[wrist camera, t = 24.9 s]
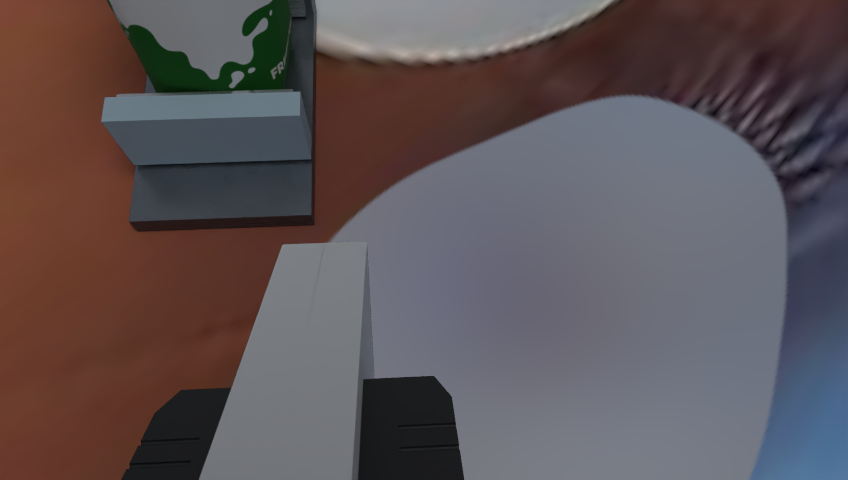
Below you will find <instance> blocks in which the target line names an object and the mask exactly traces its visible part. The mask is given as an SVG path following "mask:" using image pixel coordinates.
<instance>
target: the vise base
mask: <svg viewBox="0 0 848 480" xmlns="http://www.w3.org/2000/svg"><path fill="white" fill-rule="evenodd" d="M288 2H289V7H290V12H291V36H292V41H291V48H290V55H289V62H288V69H287V76H286V83H285V89H293V92H301V96H302V100H303V104H304V108H305V112H306V117H307V121H308V125H309V129H310V133H311V137H312V142H311V159H305V160H275V161H245V162H215V163H185V164H155V165H136V168H135V176H134V184H133V192H132V201H131V209H130V217H129V222H130V223H131V224H132V226H133V227H134V228H135V229H136V230H137V231H162V230H189V229H216V228H243V227H270V226H297V225H314V198H315V109H316V21H317V11H316V5H315V0H288ZM145 93H156V91H155V89H154V87H153V85H152V83H151V81H150V79H149V77H148V75H147V79H146V87H145Z"/></svg>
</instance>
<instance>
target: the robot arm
mask: <svg viewBox="0 0 848 480" xmlns="http://www.w3.org/2000/svg"><path fill="white" fill-rule="evenodd" d="M368 270H369V269H368V251H367V241H365V242H364V241H363V242H336V243H310V244H284V245H282V247H281V250H280V253H279V256H278V259H277V262H276V264H275V267H274V270H273V273H272V276H271V278H270V281H269V284H268V287H267V290H266V292H265V295H264V298H263V301H262V304H261V307H260V309H259V312H258V315H257V318H256V321H255V323H254V326H253V329H252V332H251V335H250V337H249V340H248V343H247V346H246V349H245V351H244V354H243V357H242V360H241V363H240V366H239V368H238V371H237V374H236V377H235V380H234V382H233V385H232V388H216V389H195V390H181V391H180V392H178V393H177V394H176V395H175V396H174V397H173V398H172V399H171V400H169V401H168V402H167V403H166V404H165V405H164V406H163V407H161V408H160V409H159V410H158V411H157V412H156V413H155V414H154V416H153V418H152V420H151V422H150V424H149V426H148V428H147V430H146V432H145V434H144V436H143V438H142V440H141V446H138V448H137V450H136V452H135V454H134V456H133V457H132V459H131V461H130V468H129V469H126V471H125V473H124V475H123V477H122V479H121V480H464V475H463V470H462V462H461V455H460V450H459V442H458V436H457V429H456V423H455V415H454V409H453V402H452V397H451V396H450V394H449V393H448V392H447V391H446V390H445V388H444V387H443V386H442V385H441V384H440V383H439V382H438V381H437V379H436V378H435V377H434V376H425V377H424V376H422V377H400V378H381V379H380V378H379V379H374V359H373V343H372V342H373V341H372V326H371V325H372V323H371V306H370V288H369V271H368Z"/></svg>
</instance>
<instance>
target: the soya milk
mask: <svg viewBox="0 0 848 480" xmlns="http://www.w3.org/2000/svg"><path fill="white" fill-rule="evenodd" d="M107 2H108V4H109V5H110V7H111V9H112V11H113V13H114V14H115V16H116V18H117V20H118V21H119V23H120V25H121V27H122V28H123V30H124V32H125V34H126V35H127V37H128V39H129V41H130V43H131V44H132V46H133V48H134V50H135V51H136V53H137V55H138V57H139V59H140V61H141V63H142V65H143V67H144V69H145V71H146V73H147V75H148V77H149V79H150V81H151V83H152V85H153V87H154V89H155V91H156V93H177V92H211V91H245V90H279V89H285V83H286V76H287V69H288V62H289V55H290V48H291V41H292V36H291V12H290V7H289V2H288V0H107Z"/></svg>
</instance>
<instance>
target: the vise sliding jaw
mask: <svg viewBox="0 0 848 480" xmlns="http://www.w3.org/2000/svg"><path fill="white" fill-rule="evenodd" d="M101 122H102V123H103V125H104V126H105V127H106V129H107V130H108V131H109V133H110V134H111V135H112V137H113V138H114V139H115V141H116V142H117V143H118V145H119V146H120V147H121V149H122V150H123V151H124V153H125V154H126V155H127V157H128V158H129V159H130V161H131V162H132V163H133V165H155V164H185V163H215V162H245V161H275V160H305V159H311V142H312V137H311V133H310V129H309V125H308V121H307V117H306V112H305V108H304V104H303V100H302V96H301V92H293V89H279V90H245V91H211V92H177V93H143V94H117V96H116V97H105V100H104V107H103V113H102V120H101Z"/></svg>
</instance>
